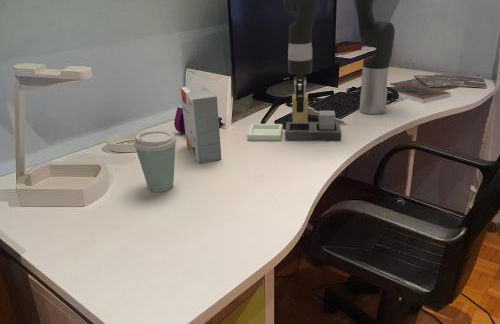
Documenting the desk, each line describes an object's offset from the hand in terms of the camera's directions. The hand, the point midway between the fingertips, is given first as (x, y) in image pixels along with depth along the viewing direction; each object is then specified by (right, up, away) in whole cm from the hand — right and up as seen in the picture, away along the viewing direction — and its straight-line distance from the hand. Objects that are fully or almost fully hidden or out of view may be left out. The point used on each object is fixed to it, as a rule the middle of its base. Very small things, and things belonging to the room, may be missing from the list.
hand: (300, 109), depth 137 cm
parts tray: (-11, -8, +5) cm, 15 cm away
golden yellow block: (0, -3, +2) cm, 4 cm away
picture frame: (+56, +11, +44) cm, 71 cm away
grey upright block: (+9, -9, +2) cm, 13 cm away
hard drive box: (-31, -15, -7) cm, 35 cm away
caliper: (+10, -2, +17) cm, 20 cm away
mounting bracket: (-33, -6, +13) cm, 36 cm away
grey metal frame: (+5, -9, +3) cm, 10 cm away
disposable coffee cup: (-40, -24, -27) cm, 54 cm away
